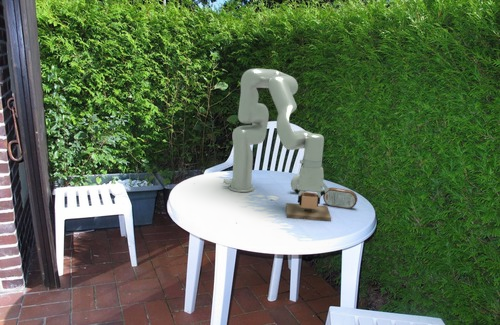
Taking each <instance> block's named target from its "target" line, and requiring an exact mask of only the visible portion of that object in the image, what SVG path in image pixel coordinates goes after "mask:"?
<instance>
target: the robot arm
mask: <svg viewBox="0 0 500 325" xmlns="http://www.w3.org/2000/svg"><path fill="white" fill-rule="evenodd" d="M257 88H260V89H261V88H262V89H268V90H269V93H270V95H271V98H272V101H273V103H274V106H275V108H276V110H277V113H278V114H277V118H276V133H277V135H278V137H279V140H280V142H281V144H282V146H283V147H284V149H286V150H288V151H295V150H300V149H304V150H303V159H300V160H299V164H301V166H300V170H299V173H298V174H299V180H298V181H296V182H295V183H294V184H293V185H291V184H290V187H292V188H293V190H294V191H295V192H294V191H293V190H292V191H293V192H294V193H296V194H297V204H299V205H301V201H302V192H303V191H306V192H311V193H317V197H318V201H317V207H318V206H319V205H320V204H321V198H322V197H323V195H324V194H325V193H326V192H327V191H328V190H329V188H330V187H328V186H327V185H326V183H325V182H324V168H323V166H322V165H323V164H322V162H323V154H324V153H323V152H324V143H325V139H324V138H325V137H324V135H322V134H320V133H313V132H310V131H307V130H293V129H292V126H291V124H290V116H291V114H293V113H294V112H295V111H296V109H298V108H297V107H298V106H297V105H298V104H297V102H296V101H295V97H294V95H295V94H296V93H297V92H298V90H299V85H298V82H297V80H296V78H295V77H293V76H291V75H289V74H287V73H284V72H281V71H280V70H277V69H272V68H271V69H270V68H269V69H267V68H249V69H247V70H246V71H244V72H243V73H242V76H241V80H240V97H239V106H238V111H237V112H238V114H237V118H238V121H239V122H240V123H242V124H245V125H240V126H237V127H236V128H234V129H233V132H232V136H231V137H232V145H233V159H232V160H233V161H232V162H233V163H232V178H229V179H227V178H226V179H223V184H225V185H228V188H229V190H230V191H233V192H236V193H237V192H238V193H249V192H253V191H254V190H255V186H254V185H252V178H253V177H252V176H253V161H254V159H253V158H254V154H253V152H254V151H253V150H252V148H251V145H252V146H253V145H259V144H261V143H263V142H264V141H265V138H266V135H267V130H268V123H269V115H270V114H269V109H268V107H267V106H266V105H265V104H264V103H260V102H259V97H260V96H259V92H258V89H257ZM246 124H251V125H246ZM297 185H298V188H299V190H298V189H297V188H296V186H297ZM292 188H291V189H292Z"/></svg>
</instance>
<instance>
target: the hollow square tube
mask: <svg viewBox="0 0 500 325" xmlns="http://www.w3.org/2000/svg"><path fill="white" fill-rule="evenodd" d="M317 201H318V197H317V192H311V191H306V192H302V201H301V208H310V209H317Z"/></svg>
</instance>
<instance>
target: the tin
mask: <svg viewBox="0 0 500 325" xmlns="http://www.w3.org/2000/svg"><path fill="white" fill-rule="evenodd" d="M328 188H329V190H328V191H327V192H326V193H325V194H324V195H322V197H323V199H322V200H323V202H324V203H325V204H326V206H328V207H329V206H330V207H335V208H341V209H345V210H346V209H347V210H349V209H352V208H354V207H355V206H356V205H357V202H358V197H357V194H356V193H355V192H354V191H353V190H351V189H344V188H338V187H333V186H332V187H328Z"/></svg>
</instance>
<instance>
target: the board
mask: <svg viewBox="0 0 500 325" xmlns="http://www.w3.org/2000/svg"><path fill="white" fill-rule="evenodd" d="M328 207H329V206H328V205H318V207H317V209H312V211H310V212H308V211H305V210H304V208H301V205H299V203H289V202H286V203H285V208H286V211H285V213H286V219H296V220H298V219H299V220H311V221H321V222H322V221H323V222H332V216H331V213H330V211H329V208H328Z"/></svg>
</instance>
